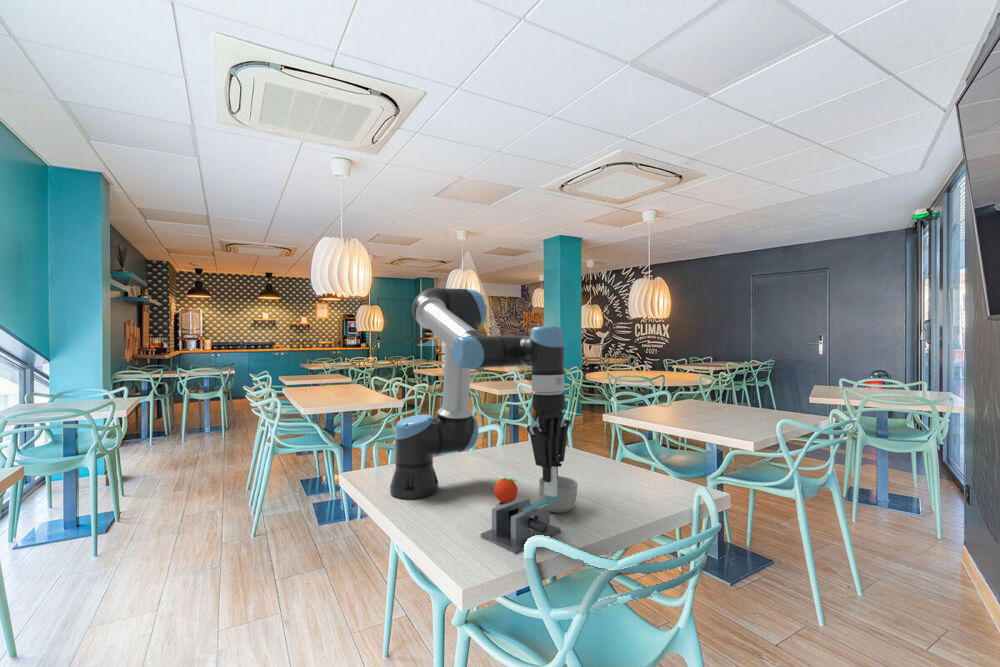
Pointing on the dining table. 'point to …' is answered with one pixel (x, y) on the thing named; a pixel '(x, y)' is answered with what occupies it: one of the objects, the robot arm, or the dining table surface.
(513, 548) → the bracket
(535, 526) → the pin
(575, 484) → the teacup
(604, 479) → the dining table surface
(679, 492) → the dining table surface
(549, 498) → the plate
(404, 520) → the dining table surface
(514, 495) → the clementine
